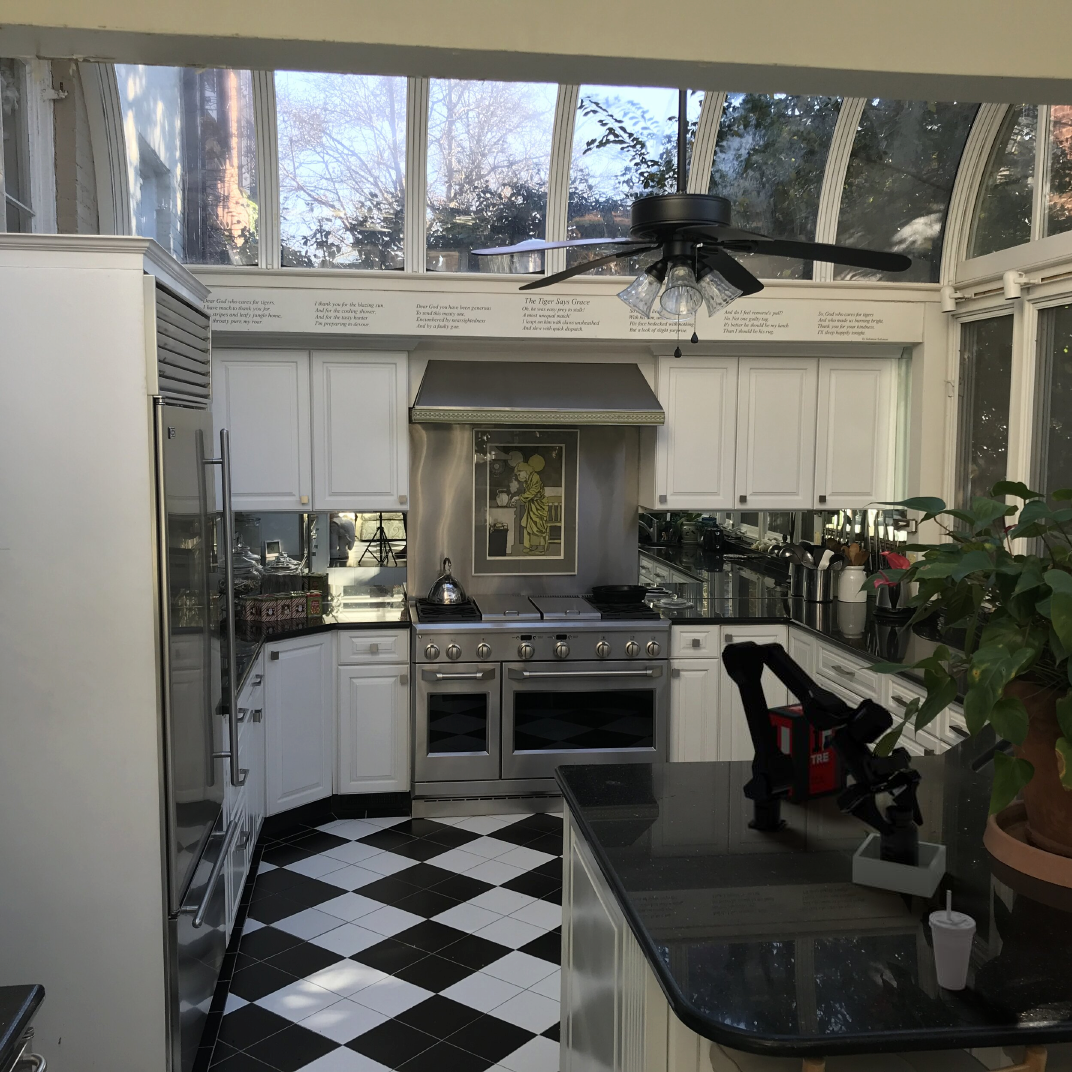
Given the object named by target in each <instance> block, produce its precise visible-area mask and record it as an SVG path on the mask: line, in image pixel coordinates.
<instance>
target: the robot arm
mask: <svg viewBox="0 0 1072 1072" xmlns="http://www.w3.org/2000/svg"><path fill="white" fill-rule="evenodd" d="M721 660H722V664H723V665H724V668H725V671H726V673H727V676H728V677H730V679H731V680H732V681H733V682H734V683H735V684H736V685H737V688H738V691H739V695H740V700H741V703H742V704H741V705H742V706H743V712H744V715H745V718H746V719H745V720H746V724H747V727H748V731H749V735H750V738H751V741H752V743H751V744H752V746H753V750H754V755H753V759H752V762H751V774H752V778H751V779H749V781H748V782H747V783H746V784H744V786H742V790H743V794H744V797H745V798H747V799H749V800H752V806H753V807H752V809H753V810H752V814H753V816H752V817H753V818H752V819H751V820H750V821H749V822H748V823H747V827H749V828H756V829H761V830H765V831H771V832H778V831H779V830H780V829H781V828H783V827H784V826H785V825H786V824H787V820H786V819H782V799H781V797H782V796H787V795H789V793H790V790H791V787H792V786H793V784H794V782H795V774H794V773H796V770H795V769H794V766H793V762H792V757H791V755H790V754H784V753H783V752H782V751H781V750H780V749H779V747H778V745H777V741H776V737H775V733H774V729H773V726H772V722H771V718H770V714H769V710H768V709H769V707H768V703H767V700H766V696H765V693H764V689H763V685H762V677H763V672H764V668H765V666H766V667H767V668H768V669H769V670H770V671H771V672H772V673H773V675H774V676H776V677H777V679H778V680H779V681H780V682H781V683H782V684H783V686H785V687H786V688H787V690H788V691H790V692H791V693H792V695H793V697H795V698H796V699H797V700H798V702H799V703H801V705H802V710H803V714H804V715H805V717H806V718H807V720H808V721H809V723H810V724H811V725H812V727H813V728H814V729H815V730H817V731H828V730H832V729H836V728H840V729H838V730H837V731H836V732H835V733H834V734H830V735H826V736H825V741H824V744H823V749H824V750H828V749H832V748H834V750H835V751H836V753H837V754H838V756H839V757H840V759H841V760H842V762H843V763H844V765H845V767H846V768H847V769H846V770H844V771H843V772H844V773H845V775H846V776H847V777H848V776H851V778H853V780H854V782H855V783H852V784H849V785H847V788H846V789H844V790H843V791H842V792H841V793H840V794H837V796H836V797H835V805H836V806H837V808H838V809H839V811H840V812H841V813H844V812H846V813H847V815H849V816H853V817H854V818H857V819H858V820H860V821H862V822H863V823H865V824H867V825H869V827H871V828H872V829H874V830H876V831H877V832H879V834H880V833H882V834H883V835H885V836H886V837H889V836H890V835H891V831H890V829H889V827H888V825H887V823H886V822H885V820H886V819H885V817H884V816H883V815H882V813H881V811H880V810H879V809H878V807H877V801H876V800H877V798H876V796H877V795H878V796H879V795H881V794H886V793H888V795H890V796H891V797H893V798H892V799H891V800H892V802H893V803H894V804H895V805H902V806H907V807H909V808H911V809H912V810H913V821H912V822H913V823H914V824H916V826H917V827H922V826H923V825H924V823H925V822H924V820H923V816H922V813H921V809H920V805H919V801H918V798H917V789H918V787H919V786H920V784H921V783H920V782H921V781H922V780H923V776H921V774H920V773H919V772H918V770H917V769H916V768H912V767H910V765H909V764H910V763H912V755H911V754H910V752H909V751H908V750H907V749H906V747H904V746H899V747H896V748H892V749H891V754H889V755H886V756H885V755H884V756H882V757H880V756H878V754H877V755H876V752H877V751H875V753H874V752H873V751H872V749H871V748H870V747H869V745H872V744H874V743H875V742H877V741H878V739H880V737H882V736H883V735H884V734H885V733H886V732H887V731H888V730H890V728H891V727H892V726H894V719H893V716H892V714H891V712H890V711H889V710H888V709H886V708H885V707H884V706H883V705H881V704H880V703H876V702H874V700H873V699H872V698H871V697H869V698H865V699H862V701H860V702H859V704H858V706H857V707H855V708H854V707H852V706H850V705H848V703H847V702H846V701H845V700H844V699H842V698H841V697H840V696H838V695H836V694H835V692H832V691H830V690H828V689H825V688H823V687H821V686H820V685H819V684H817V682H815V680H814V679H813V678H812V677H811V676H810V675H809V674H808V673H807V672H806V671H805V670H804V669H803V668H802V667H801V666H800V665H799V664H798V663H797V662H796V661H795V659H793V658H792V656H790V654H789V653H788V652H787V651H786V650H785V648H784V646H783V645H782V644H781V643H780V642H769V643H762V644H757V642H755V641H753V640H746V641H741V642H733V643H728V644H726V645H725V646H724V647H723V651H721ZM846 724H847V727H846V728H841V727H844V726H845V725H846ZM873 753H874V756H872V755H873Z"/></svg>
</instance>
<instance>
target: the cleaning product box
mask: <svg viewBox="0 0 1072 1072" xmlns="http://www.w3.org/2000/svg"><path fill="white" fill-rule="evenodd" d="M768 710H769V714H770V718H771V722H772V726H773V729H774V733H775V737H776V741H777V745H778V747H779V749H780V750H781V751H782V752H783V753H784V754H790V755H791V757H792V762H793V766H794V769H795V770H796V773H794V774H795V782H794V784H793V786H792V787H791V790H790V793H789V795H787V796H782V797H781V800H782V799H783V800H782V801H784V800H785V801H784V802H787V801H788V802H787V803H789V802H790V803H789V804H793V805H794V804H795V805H798V804H802V803H807V802H810V801H814V800H818V799H824V798H827V797H831V796H835V795H839V794H840V793H841V792H842V791H843V790H844V789H846V788H847V787H848V776H846V775H845V773H844V772H843V771H844V770H846V769H847V768H846V767H845V765H844V763H843V762H842V760H841V759H840V757H839V756H838V754H837V753H836V751H835V750H834V748H832V749H828V750H824V749H823V744H824V741H825V736H826V735H830V734H834V733H835V732H836V731H837V730H838V729H840V728H836V729H832V730H828V731H817V730H815V729H814V728H813V727H812V725H811V724H810V723H809V721H808V720H807V718H806V717H805V715H804V714H803V710H802V705H801V703H800V702H799V703H792V704H787V705H780V706H775V707H770V708H769V707H768ZM846 727H847V724H846V725H845V726H844V727H841V728H846Z"/></svg>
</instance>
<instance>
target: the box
mask: <svg viewBox="0 0 1072 1072" xmlns="http://www.w3.org/2000/svg"><path fill="white" fill-rule="evenodd" d="M946 848H947V845H943V844H937V843H930V842H924V841H919V867H914V866H909V865H903V864H898V863H893V862H887V861H882V860H880V833H873V832H871V833H869V835H868V836H867V838H866V839H865V840H864V842H863V843H862V844H861V845H860V847H859V848H858V849H857V851H856V852H855V853H854V854H853V856H852V883H854V884H858V885H863V886H868V887H873V888H880V889H884V890H888V891H889V890H890V891H894V892H899V893H903V894H909V895H914V896H919V897H923V898H929V899H932V897H933V895H934V894H935V892H936V890H937V888H938V886H939V884H940V882H941V880H942V878H943V876H944V875H945V873H946V856H947V855H946V851H947V849H946Z"/></svg>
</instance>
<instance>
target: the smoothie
mask: <svg viewBox="0 0 1072 1072" xmlns="http://www.w3.org/2000/svg"><path fill="white" fill-rule="evenodd" d="M928 918H929V921H928V925H929V926H930V927H931V935H932V944H933V950H934V951H933V952H934V959H935V961H934V962H935V967H936V979H937V983H938V985H939V986H941V987H942V988H944V989H947V990H952V991H960V990H963V989H965V987H966V983H967V975H968V969H969V963H970V962H969V961H970V956H971V949H972V944H973V943H972V942H973V938H974V937H973V936H974V934H975V933H976V931H977V927H976V920H974V919H973V918H972V917H970V916H969V915H967V914H964V913H961V912H959V911H953V910H952V891H951V890H949V889H948V890H947V889H946V910H937V911H934V912H931V913H930V914H929V917H928Z"/></svg>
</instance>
